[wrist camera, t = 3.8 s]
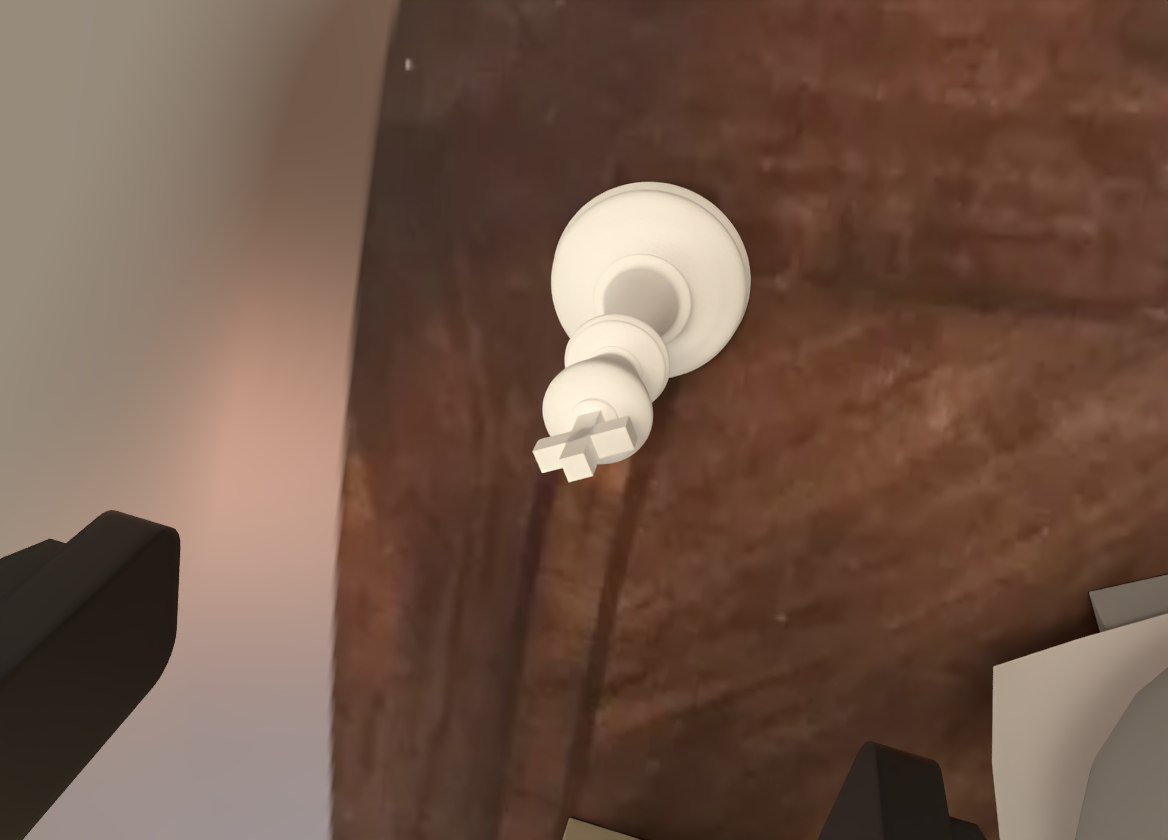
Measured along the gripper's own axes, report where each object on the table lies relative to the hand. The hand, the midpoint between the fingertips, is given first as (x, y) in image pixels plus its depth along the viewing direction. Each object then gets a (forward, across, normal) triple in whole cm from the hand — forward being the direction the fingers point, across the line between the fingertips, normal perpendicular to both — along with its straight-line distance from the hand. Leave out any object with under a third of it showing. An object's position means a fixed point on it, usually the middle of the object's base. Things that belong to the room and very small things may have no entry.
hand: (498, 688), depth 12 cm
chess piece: (+16, 0, 0) cm, 16 cm away
